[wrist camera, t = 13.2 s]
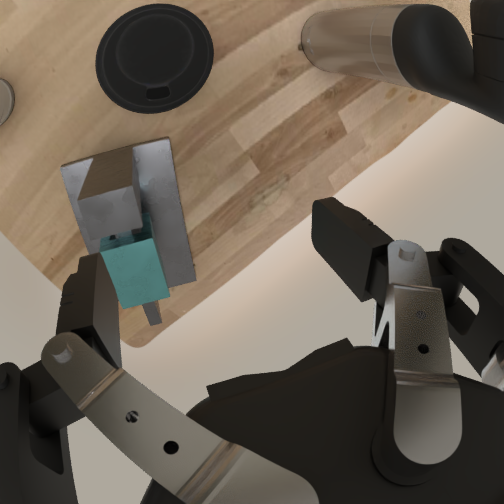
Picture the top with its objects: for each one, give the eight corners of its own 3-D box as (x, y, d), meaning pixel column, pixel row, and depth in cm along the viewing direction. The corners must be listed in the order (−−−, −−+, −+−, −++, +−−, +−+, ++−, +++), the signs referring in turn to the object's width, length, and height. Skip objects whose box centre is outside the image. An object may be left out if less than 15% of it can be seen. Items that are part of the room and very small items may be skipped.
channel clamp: (102, 225, 35) (99, 252, 30) (148, 212, 36) (152, 238, 31) (121, 277, 39) (123, 309, 35) (164, 266, 41) (170, 296, 36)
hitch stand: (168, 136, 37) (184, 172, 26) (194, 275, 50) (218, 343, 39) (61, 165, 34) (32, 215, 23) (110, 297, 46) (112, 370, 35)
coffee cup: (136, 113, 34) (136, 141, 22) (94, 54, 28) (69, 48, 16) (202, 70, 34) (240, 74, 22) (164, 10, 28) (181, -22, 16)
